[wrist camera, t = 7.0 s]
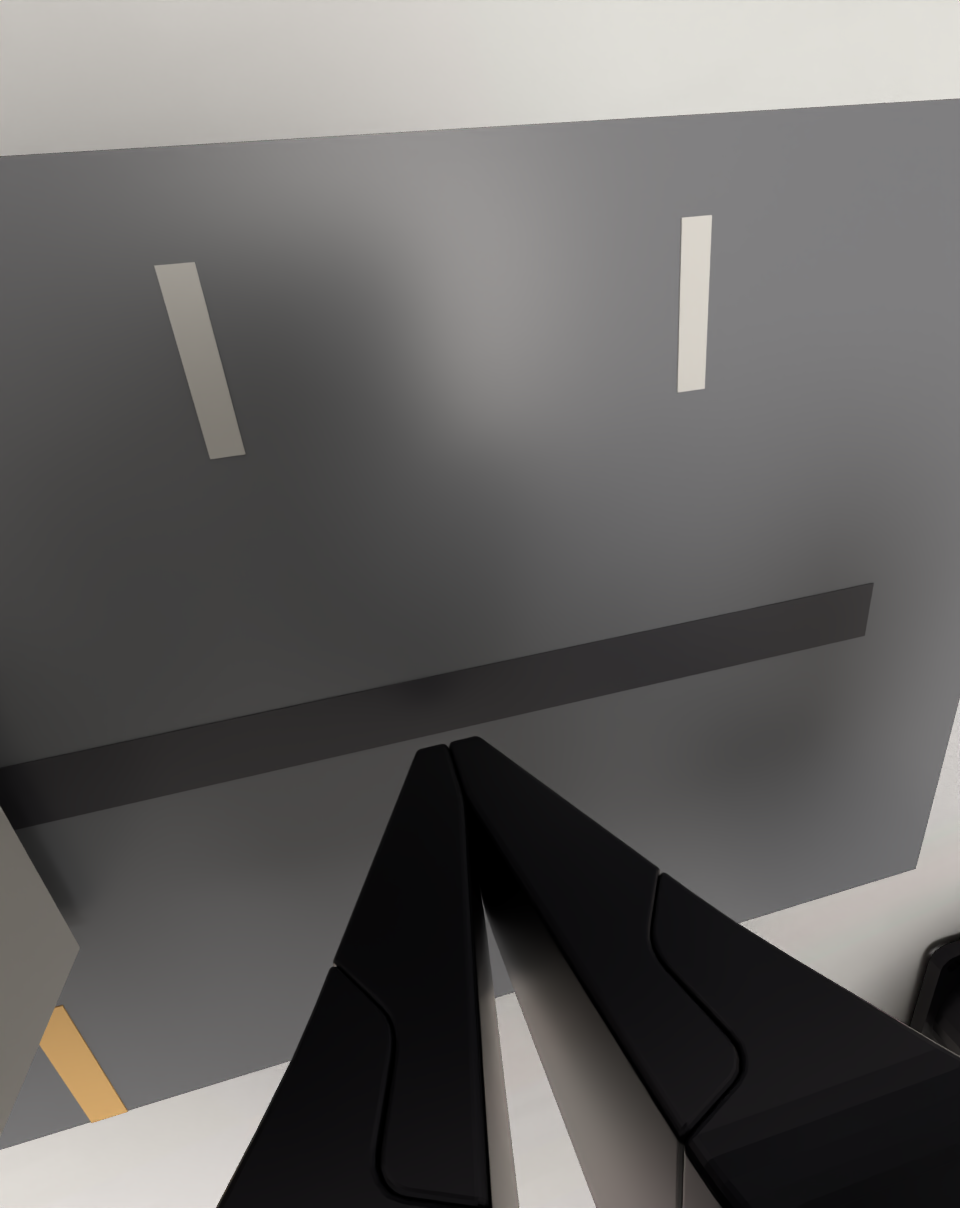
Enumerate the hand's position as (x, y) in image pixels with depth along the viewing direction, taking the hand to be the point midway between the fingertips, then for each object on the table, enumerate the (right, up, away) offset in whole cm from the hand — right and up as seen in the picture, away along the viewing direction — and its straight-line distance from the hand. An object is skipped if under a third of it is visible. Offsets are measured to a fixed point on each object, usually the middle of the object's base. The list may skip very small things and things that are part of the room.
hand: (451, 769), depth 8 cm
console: (-3, +1, +3) cm, 4 cm away
